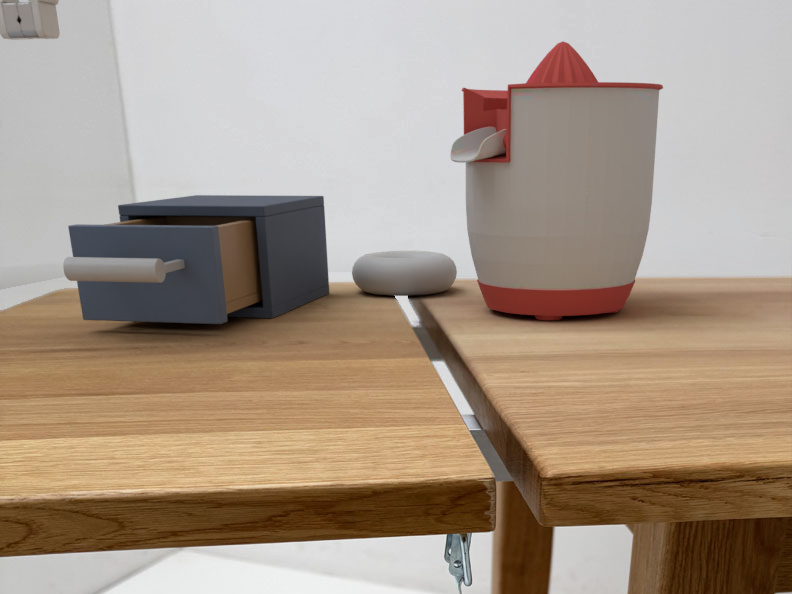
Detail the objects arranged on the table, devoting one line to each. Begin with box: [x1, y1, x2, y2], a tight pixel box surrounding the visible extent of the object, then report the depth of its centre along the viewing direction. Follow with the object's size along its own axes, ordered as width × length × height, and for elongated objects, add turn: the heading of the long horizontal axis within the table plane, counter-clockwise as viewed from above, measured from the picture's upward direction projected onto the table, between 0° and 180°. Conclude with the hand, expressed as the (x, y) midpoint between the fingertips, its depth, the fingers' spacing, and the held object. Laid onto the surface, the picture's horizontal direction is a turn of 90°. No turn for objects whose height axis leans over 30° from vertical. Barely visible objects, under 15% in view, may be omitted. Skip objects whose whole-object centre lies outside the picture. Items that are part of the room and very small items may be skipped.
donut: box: [351, 250, 458, 297], centre depth 97 cm, size 10×4×10 cm
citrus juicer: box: [450, 40, 664, 321], centre depth 82 cm, size 16×17×20 cm
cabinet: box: [117, 194, 330, 319], centre depth 90 cm, size 15×13×9 cm
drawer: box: [62, 216, 263, 325], centre depth 80 cm, size 18×11×7 cm, turn 168°
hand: (30, 38), depth 61 cm, fingers closed
